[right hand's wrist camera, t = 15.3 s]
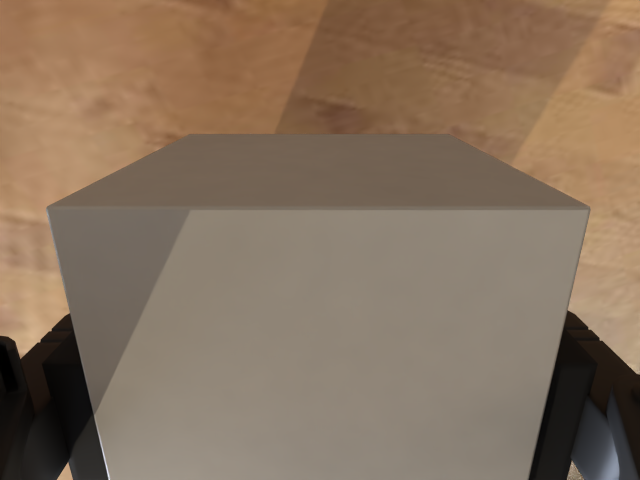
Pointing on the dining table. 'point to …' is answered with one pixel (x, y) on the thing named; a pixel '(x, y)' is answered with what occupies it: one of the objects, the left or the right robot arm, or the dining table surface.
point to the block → (318, 307)
